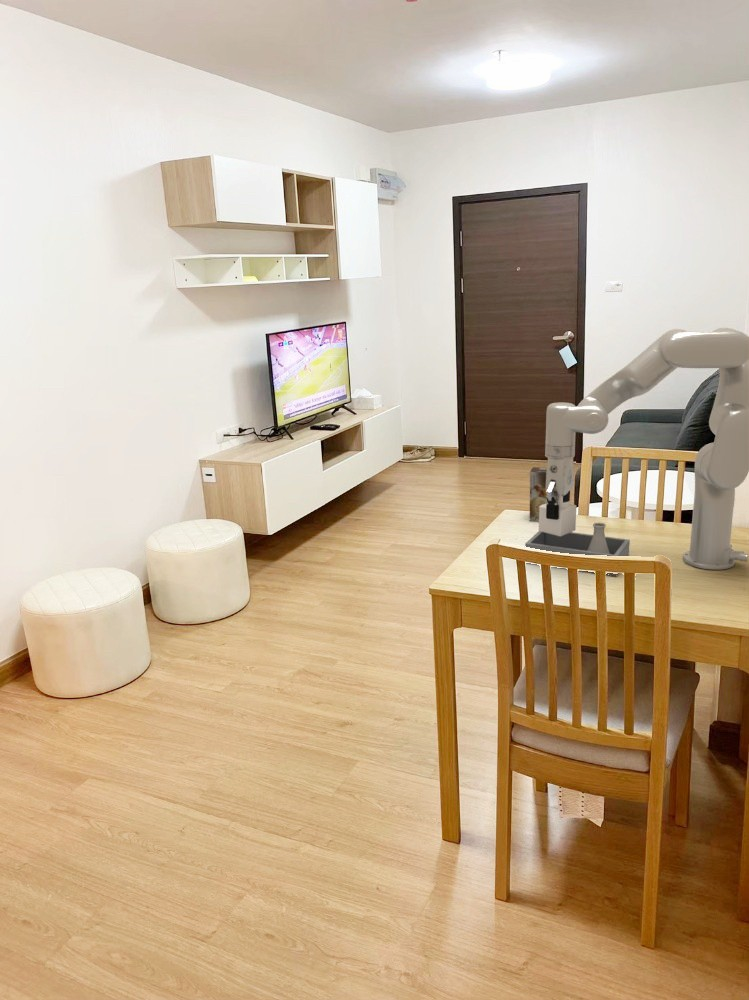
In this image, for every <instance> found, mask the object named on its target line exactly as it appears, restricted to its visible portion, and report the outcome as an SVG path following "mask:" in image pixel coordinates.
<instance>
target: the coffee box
mask: <svg viewBox="0 0 749 1000" xmlns="http://www.w3.org/2000/svg"><path fill="white" fill-rule="evenodd" d="M546 472H547V467H539V466H538V467H537V466H535V467H534V466H533V467H532V468H531V469H530V472H529V522H535V523H536V522H537V523H539V506H541V505H544V504H546V497H547V495H546Z"/></svg>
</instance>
